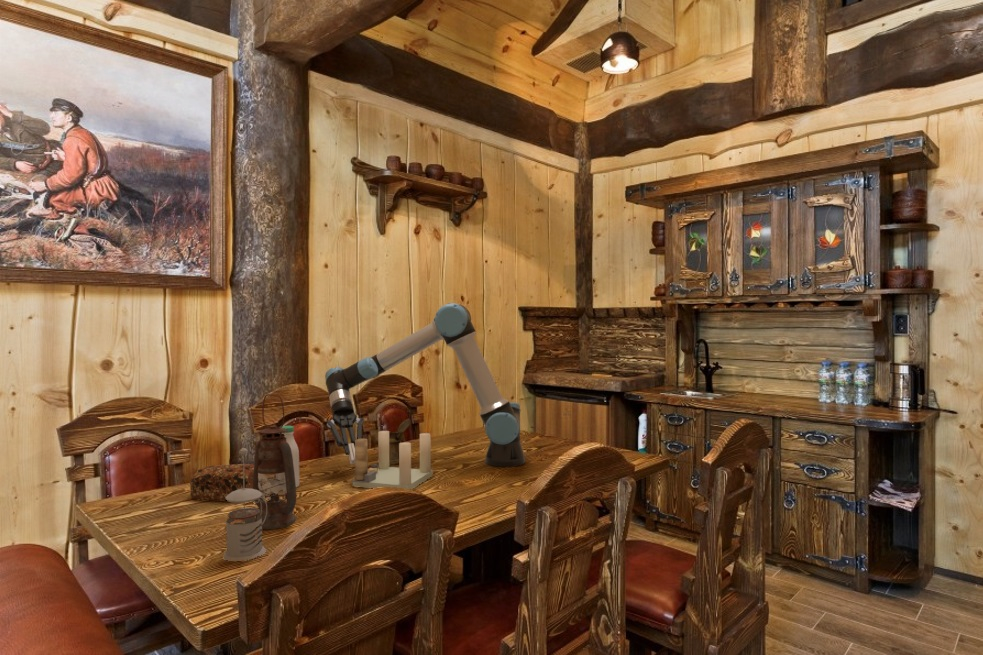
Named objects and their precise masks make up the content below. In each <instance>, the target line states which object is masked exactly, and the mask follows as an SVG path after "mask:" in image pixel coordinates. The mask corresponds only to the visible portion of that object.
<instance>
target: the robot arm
mask: <svg viewBox="0 0 983 655" xmlns="http://www.w3.org/2000/svg"><path fill="white" fill-rule="evenodd" d="M434 315H435V316H434V318H433V319H432V321H431V323H429V324H427V325H426V326H424V327H422V328H420V329H418V330H417V331H415V332H413V333H411V334H409V335H408V336H406V337H405V338H403V339H401V340H399V341H397V342H395V343H394V344H392V345H390V346H389V347H387V348H385V349H383V350H381V351H380V352H379V353H377V354H374V355H372V356H366V357H365V358H362V359H360V360H358V361H357V362H355V363H352V364H351V365H350V366H347V367H346V368H342V367H340V366H336V367H331V368H329V369H327V371H326V372H325V374H324V377H325V378H324V380H325V386H326V389H327V393H328V398H329V399H328V400H329V404H330V408H331V415H332V419H330V420H327V422H326V428H327V429H329V430H330V432H331V434H332V437H333V439H334V441H335V442H336V445H337V447H339V448H340V447H342V449H343V450H344V454H345V455H346V456H348V459H349V464H350V465H351V466H352V465H355V440H356V439H362V434H363V433H362V430H363V428H362V427H363V423H364V420H365V419H364V417H360V418H359V417H357V414H356V413H355V410H354V409H355V408H354V405H353V401H352V398H351V397H352V396H351V392H350V390H351V389H352V388H355V387H357V386H358V385H360V384H362V383H365V382H366V381H369V380H373V379H375V378H378V377H379V376H380V375H381V374H384V373H386V372H387V371H389V370H390V369H392V368H394V367H396V366H397V365H400V364H401V363H403V362H404V361H406V360H408V359H410V358H412V357H413V356H416V355H417V354H419V353H420V352H422V351H425V350H426V349H427V348H429V347H431V346H433V345H435V344H436V343H438V342H440V341H444V342H445V344H446V346H447V347H450V348H452V350H453V351H454V353H455V356H456V358H457V361H458V362H459V364H460V366H461V369H462V371H463V372H464V374H465V377H466V379H467V381H468V383H469V386H470V387H471V389H472V392H473V394H474V395H475V398H476V400H477V402H478V405H479V407H480V411H479V417H480V419H481V420H482V424H483V425H484V431H485V434H486V436H487V437H488V439H489V443H488V444H489V445H488V447H487V450H486V454H485V457H484V458H485V460H484V461H485V464H487V465H489V466H492V467H493V466H494V467H501V468H504V467H505V468H506V467H507V468H509V467H511V468H512V467H517V466H522V465H524V464H525V463H526V461H525V460H526V458H525V453H524V449H523V447H522V444H521V411H522V410H521V405H520V404H519V403H518V402H510V401H509V399H506V398H505V397H503V396H502V394H501V391H500V390H499V387H498V385H497V383H496V380H495V379H494V377H493V375H492V372H491V370H490V368H489V366H488V364H487V362H486V360H485V358H484V356H483V354H482V352H481V349H480V347H479V345H478V343H477V341H476V338H475V337H476V334H477V330H476V329H475V326H474V324H473V322H472V315H471V313H470V311H469V309H468V308H467V307H466V306H464V305H462V304H458V303H454V302H451V303H450V302H448V303H445V304H444V305H442V306H440V308H439V309H438V310H437V311H436V313H435V314H434ZM355 423H356V425H357V426H356V432H355V429H354V424H355ZM337 428H339V431H340V433H339V431H338V429H337ZM346 430H347V431H346ZM347 432H348V435H347ZM355 433H356V434H355ZM348 436H349V439H350V443H349V439H348Z"/></svg>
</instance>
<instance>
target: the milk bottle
mask: <svg viewBox="0 0 983 655" xmlns="http://www.w3.org/2000/svg"><path fill="white" fill-rule="evenodd" d="M281 426H282V425H281ZM282 428H286V429H288V431H286V432H283V433H282V434H284V435H285V436H284V437H286V442H287V443H288V444H289V445H290V448H291V451H292V457H293V465H294V474H295V483H296V488H298V487H299V486H300V453H299V452H300V451H299V447H298V446H299V445H298V444H297V442H296V440H295V437H294V434H295V427H294V426H293V425H283V426H282ZM284 473H285V472H284ZM276 476H277V474H274V477H275V479H276ZM284 479H285V477H284ZM285 481H286V480H285ZM285 481H284V482H285ZM277 482H278V481H277ZM282 483H283V482H281V484H282ZM275 485H277V484H275ZM278 486H279V485H278ZM278 486H277V487H278ZM275 487H276V486H275ZM283 487H284V485H283ZM283 487H282V488H283ZM280 491H283V489H281V490H280Z"/></svg>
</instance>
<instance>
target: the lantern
mask: <svg viewBox="0 0 983 655" xmlns="http://www.w3.org/2000/svg"><path fill="white" fill-rule="evenodd" d="M268 396H270V397H272V396H273V397H277V398H279V400H280V402H281V407H282V424H281V426H279V427H278V426H277V425H270V426H269V425H267V424H266V422H265V417H264V415H265V413H264V411H265V410H264V409H265V401H266V398H267V397H268ZM261 414H262V422H263V425H264V426H265V427H266V428H263V429H260V430H259V431H258V434H261V435H262V436H261V438H260V439H259V440H258V441H257V443H256V448H255V453H254V462H253V463H254V472H253V489H255V490H258V491H260V492H261V493H262V496H261V497H262V498H264V499H265V501H266V503H267V516H266V520H265V521H264V519H265V515H266V503H265V501H264V500H263V499H262V498H259V499H260V501H261V504H262V514H261V516H262V523H263V521H264V523H263V524H262V529H271V530H276V529H275V528H279V529H282V528H281V527H283V528H286V527H285V526H287V527H289V526H292V525H294V523H295V522H296V515H295V514H294V513H293V511H294V509H295V507H296V505H297V504H296V503H297V487H296V483H295V474H294V465H293V457H292V451H291V448H290V445H289V444H288V443H287V442H286V437H284V436H285V435H284V434H282V433H283V432H286V431H288V429H286V428H282V426H284V423H285V408H284V402H283V399H282V397H281V396H280V395H278V394H271V393H270V394H269V393H268V394H266V395H265V396H264V398H263V402H262V412H261ZM284 472H285V473H284ZM275 474H277V476H276V479H275V476H274V475H275ZM270 475H272V477H271V476H270ZM284 477H285V479H284ZM285 480H286V481H285ZM277 481H278V482H277ZM284 481H285V482H284ZM281 482H283V483H282V484H281ZM275 484H277V485H275ZM278 485H279V486H278ZM283 485H284V487H283ZM275 486H276V487H275ZM277 486H278V487H277ZM282 487H283V488H282ZM281 489H283V490H281ZM280 492H281V493H280ZM279 493H280V494H279ZM280 497H282V498H283V499H280ZM267 500H268V501H267ZM260 501H259V503H254V504H255V505H256V506H257V509H259V510H260V513H261V504H260ZM254 502H258V499H257V500H254ZM260 513H259V514H258V515H260ZM256 521H257V516H255V522H256ZM255 529H257V527H256V528H255Z"/></svg>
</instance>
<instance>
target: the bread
mask: <svg viewBox="0 0 983 655" xmlns="http://www.w3.org/2000/svg"><path fill="white" fill-rule="evenodd" d="M253 472H254V464H253V463H244V488H249V489H253ZM189 482H190V484H189V485H190V497H191V500H192V501H202V500H206V501H207V500H209V501H208V502H222V501H223V502H226V501H225V500H226V498H225V497H226V496H227V495H229V494H230V493H231V492H233V491H235V490H239V489H242V488H243V463H241V464H238V463H234V464H218V465H215V464H214V465H207V466H205V467H204V466H203V467H202V468H200V469H198V470H197V471H196V472H195V473H194V474H193V475H192V477H191V478H190V479H189Z"/></svg>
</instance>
